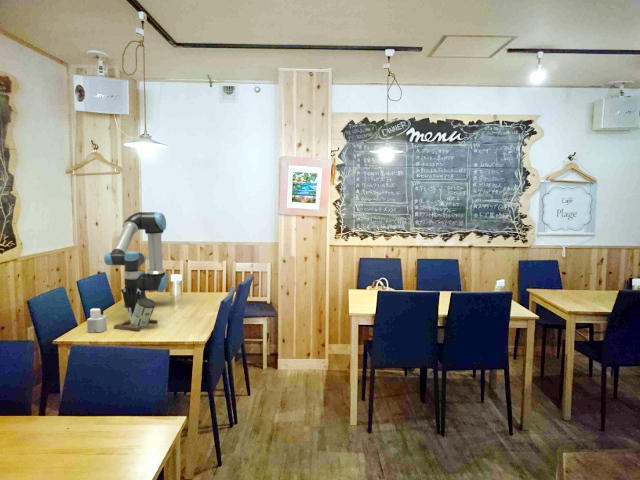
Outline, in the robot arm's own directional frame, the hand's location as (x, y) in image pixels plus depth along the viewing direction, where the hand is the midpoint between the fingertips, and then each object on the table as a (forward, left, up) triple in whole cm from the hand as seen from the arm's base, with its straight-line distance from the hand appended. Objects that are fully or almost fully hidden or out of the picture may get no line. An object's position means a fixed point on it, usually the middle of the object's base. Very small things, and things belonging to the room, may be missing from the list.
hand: (131, 318), depth 264 cm
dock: (-1, +4, -5) cm, 6 cm away
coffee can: (-1, +5, -3) cm, 6 cm away
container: (+14, -11, -5) cm, 19 cm away
